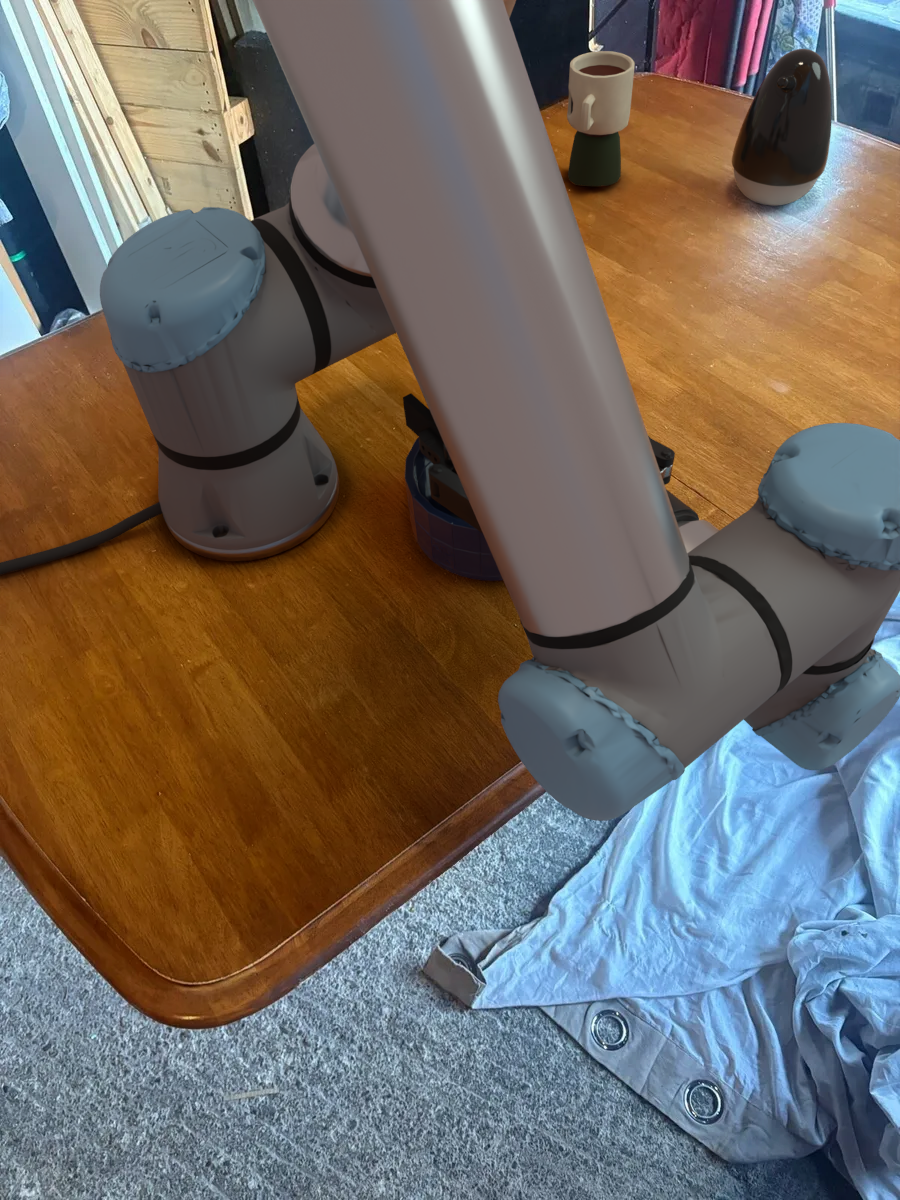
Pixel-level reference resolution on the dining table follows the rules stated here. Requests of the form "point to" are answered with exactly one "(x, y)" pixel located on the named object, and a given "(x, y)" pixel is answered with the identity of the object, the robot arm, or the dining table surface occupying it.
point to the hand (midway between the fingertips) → (454, 386)
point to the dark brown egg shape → (785, 131)
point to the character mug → (598, 115)
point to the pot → (444, 527)
